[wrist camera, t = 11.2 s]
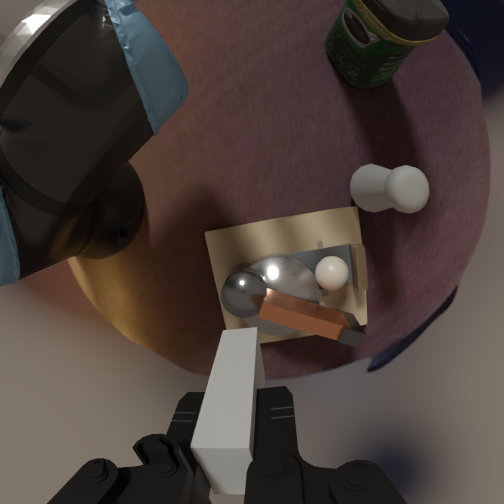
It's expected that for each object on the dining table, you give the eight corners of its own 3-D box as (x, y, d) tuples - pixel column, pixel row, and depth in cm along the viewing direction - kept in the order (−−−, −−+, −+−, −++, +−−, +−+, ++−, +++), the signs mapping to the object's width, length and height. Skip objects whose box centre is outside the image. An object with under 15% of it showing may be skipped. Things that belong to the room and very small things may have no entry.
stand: (232, 342, 39) (228, 358, 35) (206, 231, 36) (198, 236, 32) (364, 320, 37) (373, 333, 33) (354, 205, 34) (365, 208, 30)
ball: (314, 286, 35) (320, 298, 31) (310, 255, 34) (315, 264, 31) (345, 280, 35) (353, 291, 31) (342, 250, 34) (350, 257, 30)
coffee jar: (396, 81, 30) (470, 24, 12) (352, 97, 31) (414, 31, 13) (360, 27, 29) (406, -50, 10) (314, 40, 30) (341, -49, 12)
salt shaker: (353, 158, 33) (396, 144, 20) (391, 176, 33) (446, 172, 20) (339, 201, 34) (375, 208, 22) (378, 217, 34) (428, 232, 22)
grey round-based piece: (331, 345, 37) (342, 376, 30) (216, 311, 37) (205, 338, 29) (361, 279, 35) (382, 300, 27) (239, 238, 34) (231, 251, 27)
